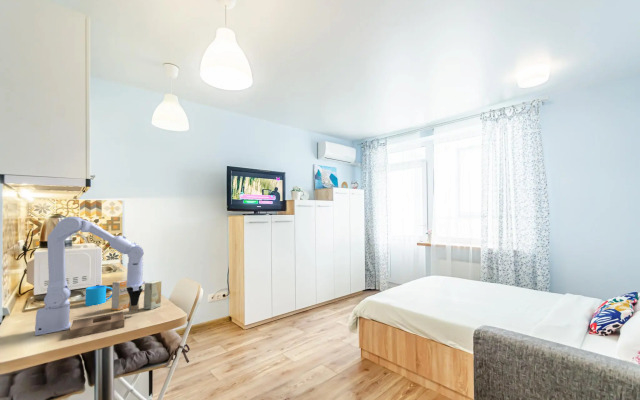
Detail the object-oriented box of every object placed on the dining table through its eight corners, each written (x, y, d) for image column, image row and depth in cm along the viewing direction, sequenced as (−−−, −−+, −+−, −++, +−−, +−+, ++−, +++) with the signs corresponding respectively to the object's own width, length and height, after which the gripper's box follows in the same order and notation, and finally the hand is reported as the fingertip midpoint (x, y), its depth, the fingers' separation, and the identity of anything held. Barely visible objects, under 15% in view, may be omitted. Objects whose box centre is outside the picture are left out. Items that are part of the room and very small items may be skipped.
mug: (87, 307, 135) (88, 290, 136) (83, 304, 140) (83, 287, 141) (116, 300, 145) (117, 285, 145) (111, 298, 150) (111, 283, 150)
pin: (129, 312, 119) (129, 293, 120) (128, 309, 122) (129, 291, 123) (139, 310, 121) (139, 291, 122) (138, 308, 124) (138, 290, 125)
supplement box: (118, 311, 128) (119, 282, 129) (111, 310, 130) (112, 281, 131) (135, 305, 136) (136, 278, 137) (128, 304, 138) (128, 278, 139)
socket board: (69, 338, 99) (70, 329, 99) (72, 328, 108) (73, 320, 109) (124, 327, 109) (124, 319, 109) (122, 318, 118) (123, 311, 118)
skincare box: (150, 310, 129) (151, 283, 130) (143, 309, 130) (143, 283, 131) (161, 305, 135) (162, 280, 136) (153, 305, 136) (154, 280, 137)
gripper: (147, 274, 119) (146, 306, 119) (143, 269, 131) (142, 298, 130) (127, 276, 115) (126, 309, 114) (125, 271, 127) (124, 301, 126)
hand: (133, 304), depth 122 cm, fingers closed on pin, 4 cm apart
